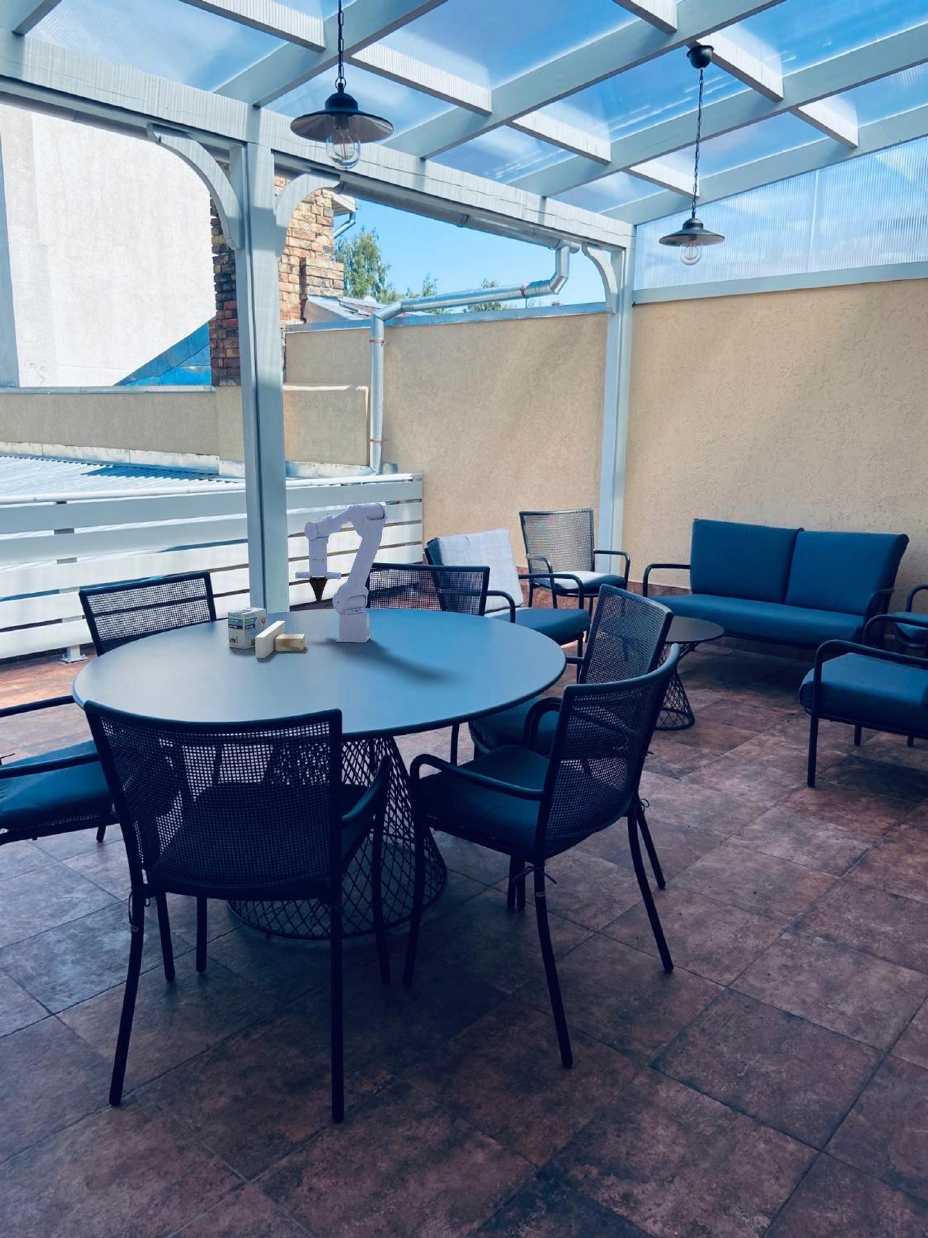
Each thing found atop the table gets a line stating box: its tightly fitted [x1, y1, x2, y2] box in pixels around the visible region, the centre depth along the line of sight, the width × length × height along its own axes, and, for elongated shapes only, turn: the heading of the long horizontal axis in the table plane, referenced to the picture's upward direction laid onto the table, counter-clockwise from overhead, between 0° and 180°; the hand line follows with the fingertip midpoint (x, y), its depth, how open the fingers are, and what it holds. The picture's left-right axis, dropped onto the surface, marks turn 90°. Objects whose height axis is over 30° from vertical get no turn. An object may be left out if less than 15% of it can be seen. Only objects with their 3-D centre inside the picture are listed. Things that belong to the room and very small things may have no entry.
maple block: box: [275, 633, 306, 652], centre depth 267 cm, size 8×6×4 cm
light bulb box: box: [227, 606, 268, 650], centre depth 271 cm, size 11×7×11 cm, turn 154°
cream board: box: [254, 620, 286, 659], centre depth 267 cm, size 2×24×6 cm, turn 177°
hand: (318, 600), depth 288 cm, fingers closed
